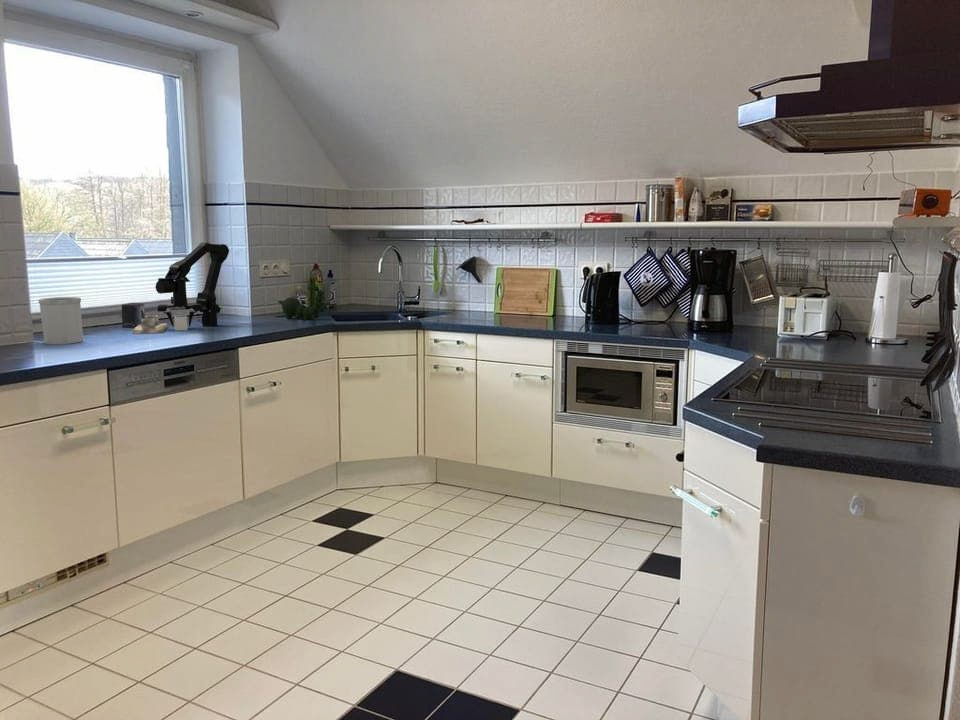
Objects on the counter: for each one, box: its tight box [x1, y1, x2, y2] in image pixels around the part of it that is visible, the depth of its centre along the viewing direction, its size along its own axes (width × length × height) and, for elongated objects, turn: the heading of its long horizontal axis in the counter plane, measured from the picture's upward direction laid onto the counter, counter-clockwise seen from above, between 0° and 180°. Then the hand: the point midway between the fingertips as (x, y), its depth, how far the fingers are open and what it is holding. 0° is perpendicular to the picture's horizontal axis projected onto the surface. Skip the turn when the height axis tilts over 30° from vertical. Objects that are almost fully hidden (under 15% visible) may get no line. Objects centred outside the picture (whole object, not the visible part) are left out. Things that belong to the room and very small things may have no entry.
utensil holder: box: [38, 296, 84, 345], centre depth 306 cm, size 15×15×18 cm
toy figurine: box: [277, 284, 326, 321], centre depth 390 cm, size 9×19×25 cm
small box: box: [121, 302, 146, 328], centre depth 358 cm, size 11×6×10 cm, turn 179°
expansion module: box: [173, 314, 189, 331], centre depth 348 cm, size 5×6×6 cm
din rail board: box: [132, 314, 168, 335], centre depth 345 cm, size 12×22×6 cm, turn 17°
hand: (181, 326), depth 348 cm, fingers open, 7 cm apart
